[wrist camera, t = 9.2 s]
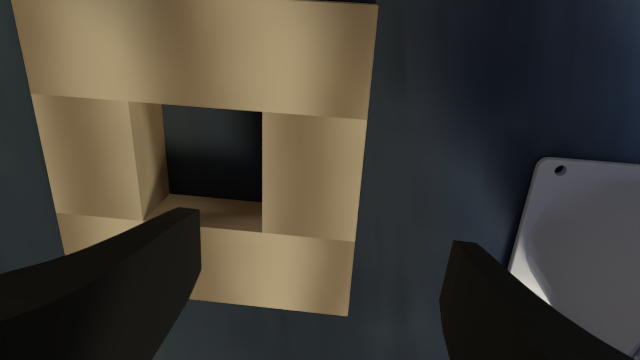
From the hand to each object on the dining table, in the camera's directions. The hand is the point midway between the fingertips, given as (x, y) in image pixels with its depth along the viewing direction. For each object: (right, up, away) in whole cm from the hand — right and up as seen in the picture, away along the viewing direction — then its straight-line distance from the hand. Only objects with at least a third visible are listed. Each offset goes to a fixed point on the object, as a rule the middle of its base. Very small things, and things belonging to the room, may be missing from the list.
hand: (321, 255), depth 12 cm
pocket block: (-5, +4, +9) cm, 11 cm away
